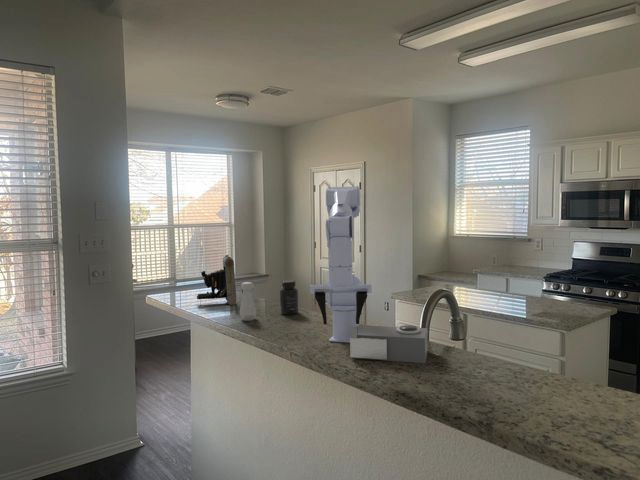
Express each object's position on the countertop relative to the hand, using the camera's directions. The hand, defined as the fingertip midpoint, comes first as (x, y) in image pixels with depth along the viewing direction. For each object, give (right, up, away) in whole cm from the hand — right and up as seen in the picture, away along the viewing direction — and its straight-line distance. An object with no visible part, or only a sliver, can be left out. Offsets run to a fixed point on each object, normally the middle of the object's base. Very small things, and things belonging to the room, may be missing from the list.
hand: (341, 323), depth 110 cm
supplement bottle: (-16, -7, +60) cm, 63 cm away
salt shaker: (-30, -8, +52) cm, 60 cm away
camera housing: (+13, -9, +8) cm, 18 cm away
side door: (+7, -9, +3) cm, 12 cm away
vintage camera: (-48, -7, +81) cm, 94 cm away
